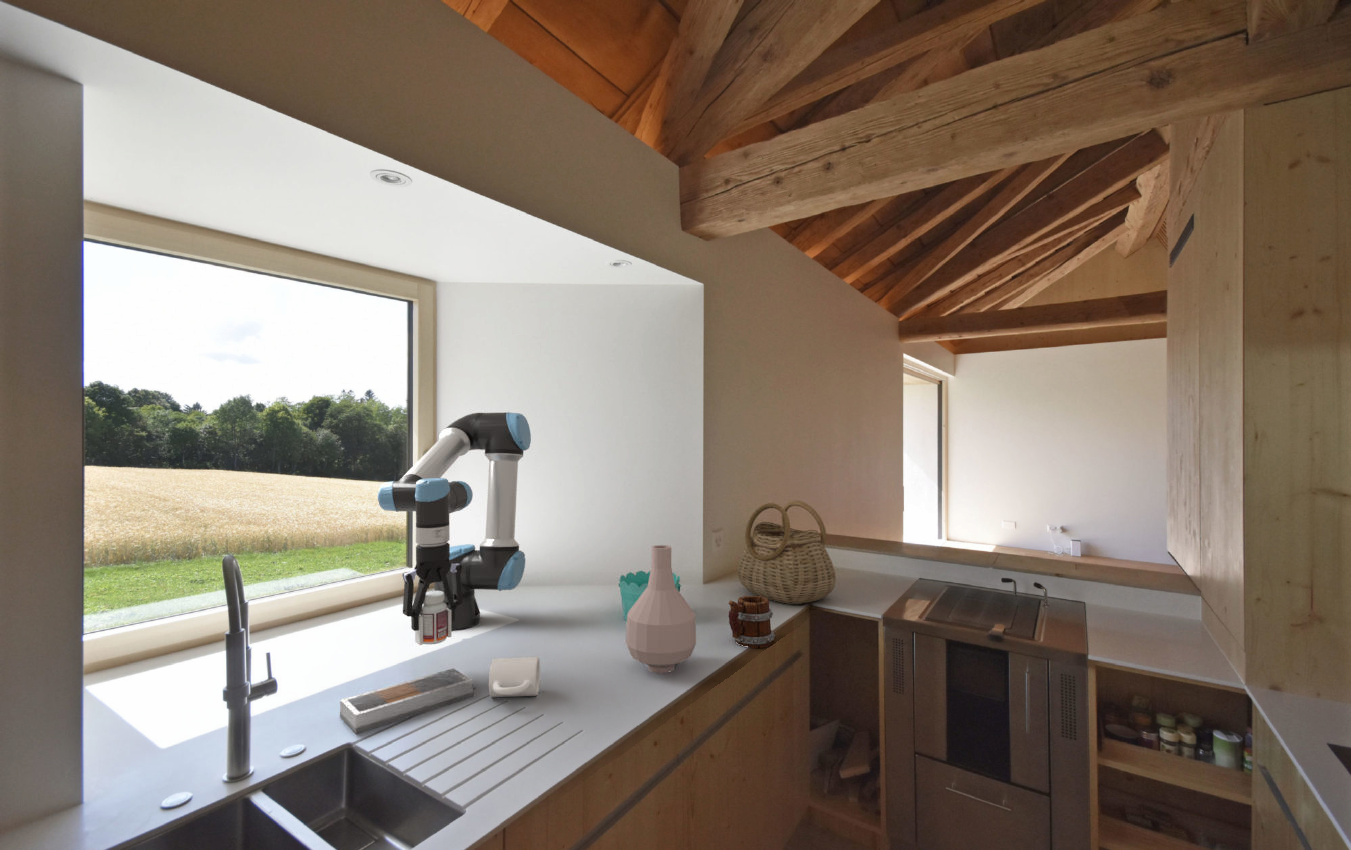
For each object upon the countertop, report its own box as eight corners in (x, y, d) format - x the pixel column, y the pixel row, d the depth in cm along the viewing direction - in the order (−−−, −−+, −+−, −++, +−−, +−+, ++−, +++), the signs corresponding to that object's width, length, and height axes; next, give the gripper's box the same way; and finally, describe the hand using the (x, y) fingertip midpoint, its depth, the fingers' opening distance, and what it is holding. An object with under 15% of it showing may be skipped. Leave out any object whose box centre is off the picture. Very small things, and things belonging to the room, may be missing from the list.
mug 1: (496, 687, 140) (496, 652, 140) (540, 686, 141) (540, 651, 141) (484, 711, 128) (484, 673, 128) (532, 710, 129) (532, 672, 129)
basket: (850, 600, 213) (850, 504, 213) (795, 614, 197) (795, 509, 197) (777, 580, 241) (777, 495, 242) (724, 591, 225) (724, 499, 225)
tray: (355, 733, 118) (355, 715, 118) (339, 716, 125) (339, 699, 125) (473, 696, 135) (473, 680, 135) (453, 683, 142) (453, 667, 142)
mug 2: (785, 641, 171) (779, 589, 169) (750, 661, 162) (744, 607, 160) (755, 630, 180) (749, 581, 178) (720, 649, 171) (713, 598, 169)
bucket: (609, 621, 189) (609, 579, 189) (635, 606, 205) (635, 567, 206) (666, 629, 181) (666, 585, 181) (688, 612, 198) (688, 572, 198)
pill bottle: (445, 634, 151) (445, 588, 150) (448, 642, 145) (448, 595, 145) (418, 638, 148) (418, 591, 148) (420, 646, 143) (419, 598, 142)
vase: (643, 687, 140) (644, 556, 140) (614, 662, 155) (615, 543, 156) (709, 674, 148) (709, 549, 148) (675, 650, 164) (676, 538, 164)
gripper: (397, 552, 137) (398, 654, 137) (477, 539, 150) (478, 633, 151) (385, 546, 142) (386, 645, 143) (464, 535, 155) (464, 625, 156)
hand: (433, 639), depth 147 cm, fingers closed on pill bottle, 6 cm apart
